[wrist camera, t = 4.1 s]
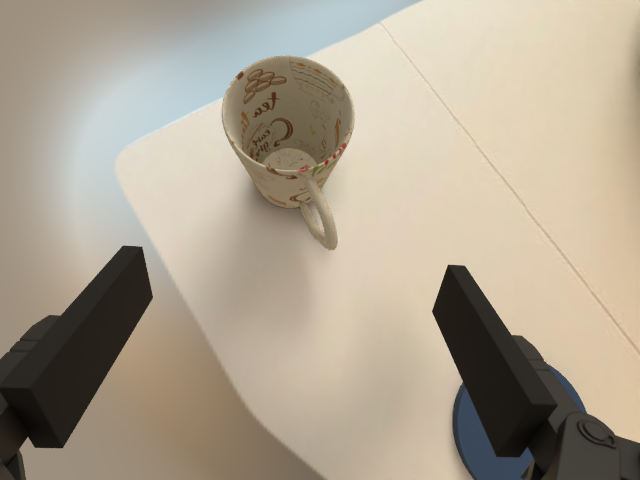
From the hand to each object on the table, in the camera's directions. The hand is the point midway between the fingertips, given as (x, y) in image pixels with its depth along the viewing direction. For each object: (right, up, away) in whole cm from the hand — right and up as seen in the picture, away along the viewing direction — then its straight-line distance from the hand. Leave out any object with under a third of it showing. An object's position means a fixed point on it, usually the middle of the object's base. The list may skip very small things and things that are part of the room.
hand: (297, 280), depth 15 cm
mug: (-1, +6, +16) cm, 17 cm away
